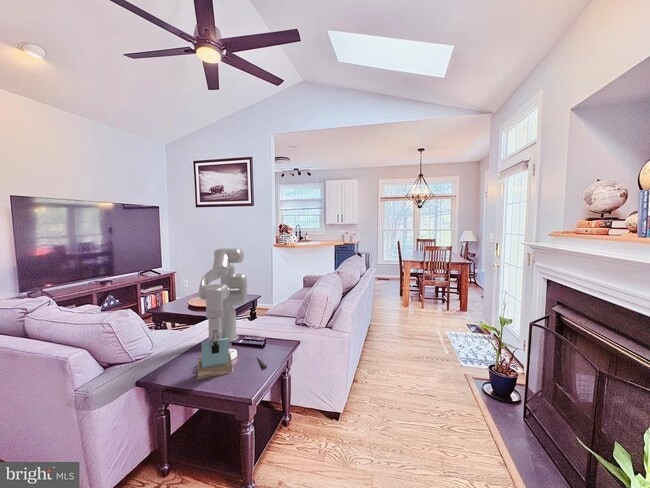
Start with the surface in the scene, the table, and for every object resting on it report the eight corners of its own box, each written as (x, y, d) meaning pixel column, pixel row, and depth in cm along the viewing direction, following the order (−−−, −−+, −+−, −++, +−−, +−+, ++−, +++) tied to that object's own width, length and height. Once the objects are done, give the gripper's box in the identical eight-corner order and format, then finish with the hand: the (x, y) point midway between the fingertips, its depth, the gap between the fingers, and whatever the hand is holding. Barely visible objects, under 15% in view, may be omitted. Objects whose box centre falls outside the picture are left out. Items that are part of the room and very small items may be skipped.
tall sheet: (202, 374, 132) (201, 341, 132) (228, 369, 137) (228, 337, 136) (202, 376, 131) (201, 342, 130) (228, 371, 136) (228, 339, 135)
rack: (198, 367, 142) (197, 357, 142) (230, 361, 148) (230, 351, 148) (197, 381, 128) (196, 370, 128) (233, 374, 134) (233, 364, 134)
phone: (255, 356, 153) (267, 366, 141) (255, 358, 153) (267, 368, 141) (241, 360, 148) (252, 371, 136) (241, 362, 148) (252, 373, 136)
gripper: (206, 309, 139) (206, 344, 140) (206, 319, 123) (206, 359, 124) (222, 307, 142) (222, 342, 143) (224, 317, 126) (224, 356, 127)
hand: (215, 349), depth 133 cm, fingers open, 6 cm apart
